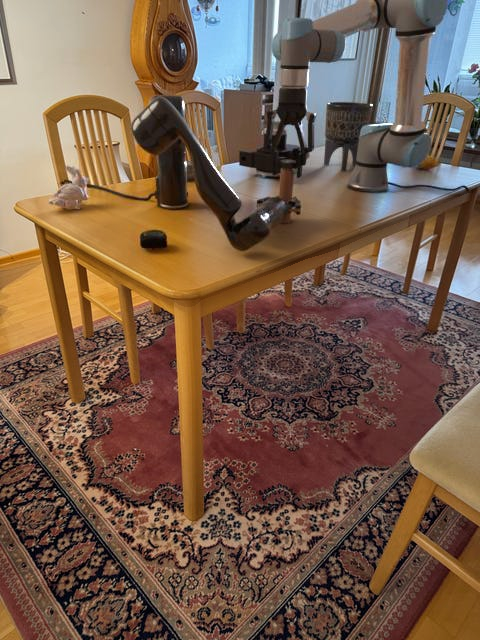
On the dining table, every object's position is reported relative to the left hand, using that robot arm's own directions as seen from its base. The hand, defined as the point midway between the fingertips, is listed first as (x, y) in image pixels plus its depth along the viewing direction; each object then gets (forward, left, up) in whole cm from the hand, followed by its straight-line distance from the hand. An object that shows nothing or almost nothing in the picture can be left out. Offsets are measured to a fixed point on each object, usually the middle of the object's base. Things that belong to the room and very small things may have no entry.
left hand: (287, 199), depth 139 cm
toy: (+36, +102, -6) cm, 108 cm away
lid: (0, -3, +11) cm, 12 cm away
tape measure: (-24, -39, -6) cm, 46 cm away
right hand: (0, -3, +8) cm, 8 cm away
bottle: (0, -3, -6) cm, 7 cm away
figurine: (-67, -19, -6) cm, 70 cm away
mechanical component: (-21, +60, -6) cm, 64 cm away
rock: (-49, +34, -6) cm, 60 cm away
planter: (+1, +86, -6) cm, 86 cm away
